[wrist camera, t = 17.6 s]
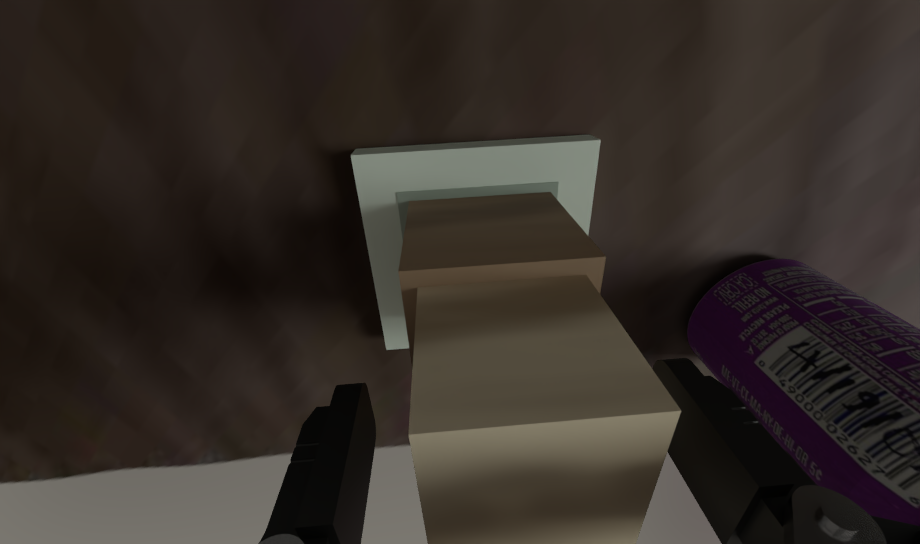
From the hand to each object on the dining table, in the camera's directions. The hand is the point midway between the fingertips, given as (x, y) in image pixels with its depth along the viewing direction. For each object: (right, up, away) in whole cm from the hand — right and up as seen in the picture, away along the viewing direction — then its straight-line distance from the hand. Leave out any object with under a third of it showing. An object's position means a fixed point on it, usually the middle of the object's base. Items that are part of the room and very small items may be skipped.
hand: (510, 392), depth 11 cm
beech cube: (0, +1, +2) cm, 2 cm away
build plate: (-1, +5, +8) cm, 9 cm away
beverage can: (+15, +1, +11) cm, 18 cm away
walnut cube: (0, +4, +7) cm, 8 cm away
